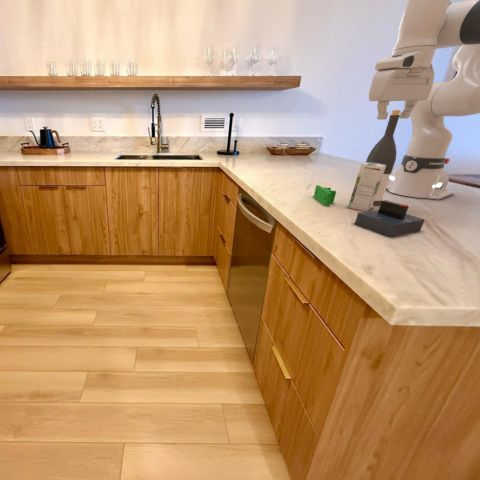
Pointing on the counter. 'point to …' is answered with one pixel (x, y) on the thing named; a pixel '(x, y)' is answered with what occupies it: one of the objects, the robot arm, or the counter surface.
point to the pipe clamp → (324, 195)
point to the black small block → (393, 209)
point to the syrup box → (366, 186)
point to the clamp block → (389, 223)
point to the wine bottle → (385, 154)
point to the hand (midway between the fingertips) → (392, 119)
